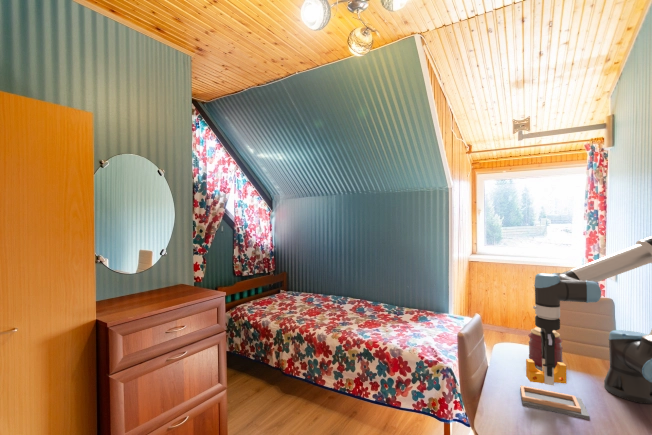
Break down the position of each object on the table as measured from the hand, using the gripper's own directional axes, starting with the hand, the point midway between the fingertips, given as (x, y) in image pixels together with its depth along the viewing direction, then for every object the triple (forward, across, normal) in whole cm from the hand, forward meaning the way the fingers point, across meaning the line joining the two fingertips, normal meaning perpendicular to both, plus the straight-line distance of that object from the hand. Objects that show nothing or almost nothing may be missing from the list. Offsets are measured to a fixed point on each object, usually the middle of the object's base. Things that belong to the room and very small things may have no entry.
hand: (547, 380), depth 117 cm
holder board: (+8, 0, +1) cm, 8 cm away
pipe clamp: (0, 0, 0) cm, 1 cm away
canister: (+8, -37, +4) cm, 38 cm away
